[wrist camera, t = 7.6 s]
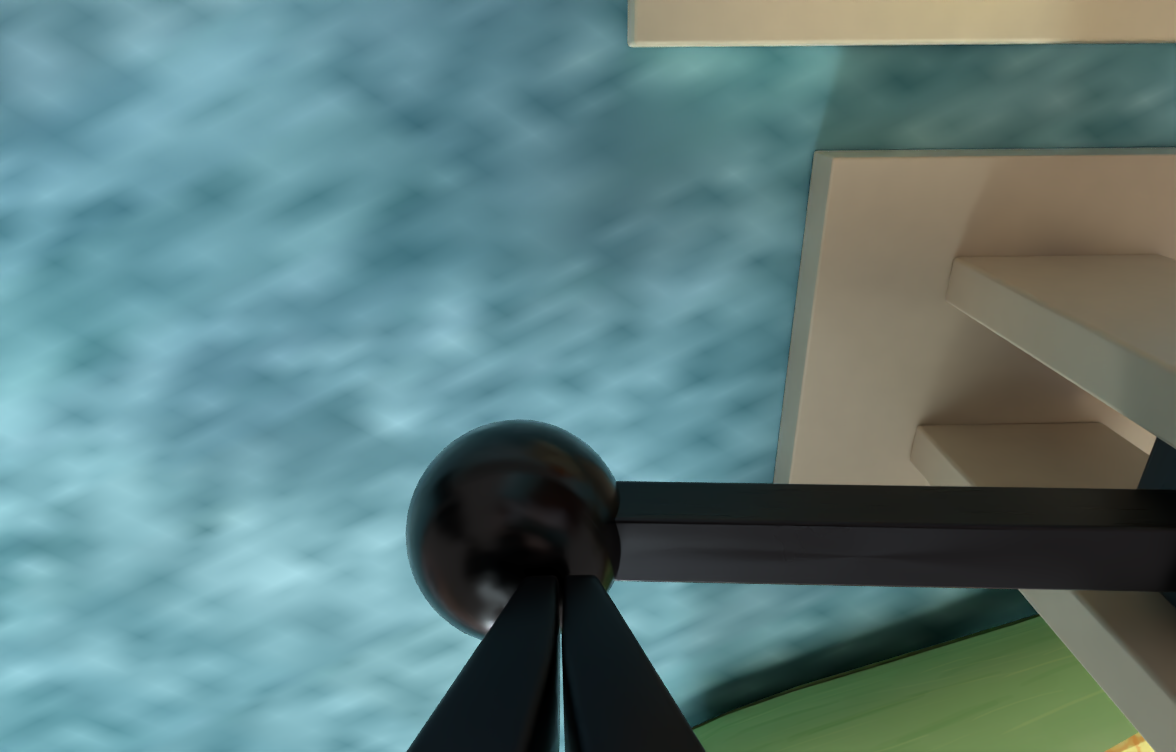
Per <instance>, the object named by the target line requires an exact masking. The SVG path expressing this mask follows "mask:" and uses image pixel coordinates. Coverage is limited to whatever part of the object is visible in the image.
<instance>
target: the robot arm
mask: <svg viewBox="0 0 1176 752" xmlns="http://www.w3.org/2000/svg"><path fill="white" fill-rule="evenodd" d="M562 666H563V700H564V734H565V752H706V751H705V749H704V748H703V746H702V745H701V743H700V741H699V740H698V738H697V736H696V735H695V733H694V732H693V730H692V728H691V727H690V725H689V724H688V722H687V720H686V719H685V717H684V716H683V714H682V712H681V711H680V709H679V707H678V706H677V704H676V703H675V701H674V699H673V698H672V696H671V695H670V693H669V691H668V690H667V688H666V687H665V685H664V683H663V682H662V680H661V678H660V677H659V675H658V674H657V672H656V670H655V669H654V667H653V666H652V664H651V662H650V661H649V659H648V658H647V656H646V654H645V653H644V651H643V649H642V648H641V646H640V645H639V643H638V641H637V640H636V638H635V637H634V635H633V633H632V632H631V630H630V629H629V627H628V625H627V624H626V622H625V620H624V619H623V617H622V616H621V614H620V612H619V611H618V609H617V608H616V606H615V604H614V603H613V601H612V599H611V598H610V596H609V595H608V593H607V591H606V590H605V588H604V587H603V585H602V583H601V582H600V580H599V579H598V578H597V577H596V576H595V575H567V576H566V577H565V578H564V582H563V611H562ZM559 739H560V608H559V582H558V579H557V577H556V576H553V575H547V576H527V577H526V578H524V580H523V581H522V582H521V584H520V585H519V587H518V588H517V590H516V591H515V593H514V594H513V595H512V597H511V598H510V600H509V601H508V603H507V604H506V606H505V607H504V609H503V610H502V612H501V613H500V615H499V616H498V618H497V619H496V621H495V622H494V623H493V625H492V626H491V628H490V629H489V631H488V632H487V634H486V635H485V637H484V638H483V640H482V641H481V643H480V644H479V646H478V647H477V649H476V650H475V651H474V653H473V654H472V656H471V657H470V659H469V660H468V662H467V663H466V665H465V666H464V668H463V669H462V671H461V672H460V674H459V675H458V677H457V678H456V679H455V681H454V682H453V684H452V685H451V687H450V688H449V690H448V691H447V693H446V694H445V696H444V697H443V699H442V700H441V702H440V703H439V705H438V706H437V707H436V709H435V710H434V712H433V713H432V715H431V716H430V718H429V719H428V721H427V722H426V724H425V725H424V727H423V728H422V730H421V731H420V733H419V734H418V735H417V737H416V738H415V740H414V741H413V743H412V744H411V746H410V747H409V749H408V750H407V752H559Z"/></svg>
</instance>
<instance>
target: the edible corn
mask: <svg viewBox="0 0 1176 752" xmlns="http://www.w3.org/2000/svg"><path fill="white" fill-rule="evenodd" d="M692 730H693V732H694V733H695V735H696V736H697V738H698V740H699V741H700V743H701V745H702V746H703V748H704V749H705V751H706V752H1155V751H1154V750H1153V749H1152V748H1151V746H1150V745H1149V744H1148V743H1147V742H1146V740H1145V739H1144V738H1143V737H1142V736H1141V734H1140V733H1139V732H1138V731H1137V730H1136V729H1135V727H1134V726H1133V725H1132V724H1131V723H1130V721H1129V720H1128V719H1127V718H1126V717H1125V715H1124V714H1123V713H1122V712H1121V711H1120V710H1119V708H1118V707H1117V706H1116V705H1115V704H1114V702H1113V701H1112V700H1111V699H1110V698H1109V696H1108V695H1107V694H1106V693H1105V692H1104V691H1103V689H1102V688H1101V687H1100V686H1099V685H1098V683H1097V682H1096V681H1095V680H1094V679H1093V677H1092V676H1091V675H1090V674H1089V673H1088V672H1087V670H1086V669H1085V668H1084V667H1083V666H1082V664H1081V663H1080V662H1079V661H1078V660H1077V658H1076V657H1075V656H1074V655H1073V654H1072V653H1071V651H1070V650H1069V649H1068V648H1067V647H1066V645H1065V644H1064V643H1063V642H1062V641H1061V639H1060V638H1059V637H1058V636H1057V635H1056V634H1055V632H1054V631H1053V630H1052V629H1051V628H1050V626H1049V625H1048V624H1047V623H1046V622H1045V620H1044V619H1043V618H1042V617H1041V616H1040V615H1039V614H1037V615H1033V616H1030V617H1027V618H1023V619H1020V620H1017V621H1013V622H1010V623H1007V624H1003V625H1000V626H997V627H993V628H990V629H987V630H983V631H980V632H977V633H973V634H970V635H967V636H964V637H960V638H957V639H954V640H950V641H947V642H944V643H940V644H937V645H934V646H930V647H927V648H924V649H920V650H917V651H914V652H910V653H907V654H904V655H900V656H897V657H894V658H890V659H887V660H884V661H880V662H877V663H874V664H870V665H867V666H864V667H860V668H857V669H854V670H850V671H847V672H844V673H840V674H837V675H834V676H830V677H827V678H824V679H820V680H817V681H814V682H811V683H807V684H804V685H801V686H798V687H795V688H792V689H789V690H787V691H784V692H781V693H778V694H776V695H773V696H770V697H767V698H765V699H762V700H759V701H756V702H754V703H751V704H748V705H745V706H743V707H740V708H737V709H734V710H731V711H729V712H727V713H725V714H722V715H720V716H718V717H715V718H713V719H711V720H708V721H706V722H704V723H702V724H699V725H697V726H695V727H692Z"/></svg>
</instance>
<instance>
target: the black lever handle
mask: <svg viewBox="0 0 1176 752" xmlns="http://www.w3.org/2000/svg"><path fill="white" fill-rule="evenodd" d="M406 545H407V554H408V559H409V563H410V567H411V570H412V573H413V575H414V578H415V580H416V583H417V585H418V586H419V588H420V590H421V592H422V593H423V595H424V597H425V598H426V600H427V601H428V602H429V604H430V605H431V606H432V608H433V609H434V610H435V611H436V612H437V613H438V614H439V615H440V616H441V617H443V618H444V619H445V620H446V621H448V622H449V623H450V624H451V625H452V626H454V627H456V628H457V629H459V630H460V631H462V632H464V633H466V634H468V635H470V636H473V637H475V638H478V639H480V640H483V638H484V637H485V635H486V634H487V632H488V631H489V629H490V628H491V626H492V625H493V623H494V622H495V621H496V619H497V618H498V616H499V615H500V613H501V612H502V610H503V609H504V607H505V606H506V604H507V603H508V601H509V600H510V598H511V597H512V595H513V594H514V593H515V591H516V590H517V588H518V587H519V585H520V584H521V582H522V581H523V580H524V578H526V577H527V576H547V575H553V576H556V577H557V579H558V582H559V608H560V634H562V611H563V582H564V578H565V577H566V576H567V575H595V576H596V577H597V578H598V579H599V580H600V582H601V583H602V585H603V587H604V588H605V590H606V591H607V593H608V592H609V590H610V589H611V587H612V585H613V583H614V581H644V582H693V583H742V584H791V585H840V586H889V587H939V588H988V589H1037V590H1086V591H1135V592H1159V593H1160V594H1161V595H1162V596H1163V597H1164V598H1165V599H1166V600H1167V601H1168V602H1169V603H1170V604H1171V605H1173V606H1174V607H1175V608H1176V449H1175V448H1173V447H1172V446H1170V445H1169V444H1167V443H1166V442H1164V441H1162V440H1161V439H1159V438H1158V437H1156V439H1155V442H1154V445H1153V447H1152V450H1151V452H1150V455H1149V458H1148V460H1147V463H1146V465H1145V468H1144V471H1143V473H1142V476H1141V478H1140V481H1139V484H1138V486H1137V489H1109V488H1042V487H975V486H908V485H841V484H774V483H707V482H640V481H616V480H615V479H614V477H613V475H612V473H611V471H610V470H609V468H608V467H607V466H606V464H605V463H604V462H603V460H602V459H601V458H600V456H599V455H598V454H597V453H596V452H595V451H594V450H593V449H592V448H591V447H590V446H589V445H587V444H586V443H585V442H583V441H582V440H581V439H579V438H578V437H576V436H575V435H573V434H571V433H570V432H568V431H566V430H564V429H561V428H559V427H557V426H554V425H551V424H547V423H544V422H539V421H533V420H506V421H500V422H494V423H490V424H487V425H483V426H480V427H478V428H476V429H473V430H471V431H469V432H467V433H466V434H464V435H462V436H461V437H459V438H457V439H456V440H454V441H453V442H451V443H450V444H449V445H448V446H447V447H445V448H444V449H443V450H442V451H441V452H440V453H439V454H438V455H437V456H436V458H435V459H434V460H433V461H432V462H431V463H430V464H429V466H428V467H427V469H426V471H425V472H424V474H423V475H422V477H421V478H420V480H419V482H418V484H417V486H416V489H415V491H414V493H413V496H412V499H411V503H410V506H409V510H408V516H407V525H406Z"/></svg>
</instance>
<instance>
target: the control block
mask: <svg viewBox="0 0 1176 752" xmlns="http://www.w3.org/2000/svg"><path fill="white" fill-rule="evenodd" d="M627 43H628V46H630V47H738V46H872V45H1005V44H1139V43H1176V0H628V34H627Z"/></svg>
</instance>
